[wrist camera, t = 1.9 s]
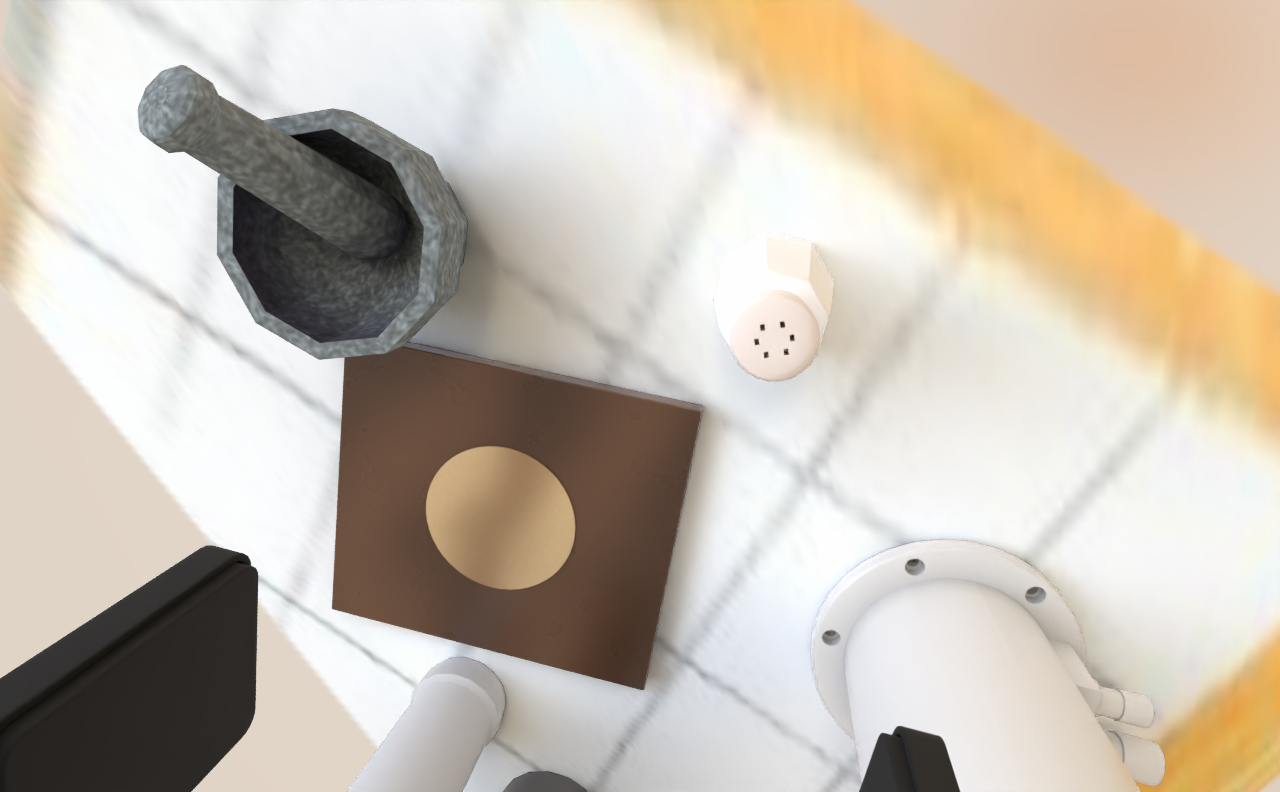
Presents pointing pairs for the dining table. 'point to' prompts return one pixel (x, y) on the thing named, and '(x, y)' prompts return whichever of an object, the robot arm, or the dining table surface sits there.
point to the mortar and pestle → (318, 217)
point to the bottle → (438, 732)
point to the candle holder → (543, 783)
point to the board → (509, 507)
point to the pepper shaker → (773, 304)
